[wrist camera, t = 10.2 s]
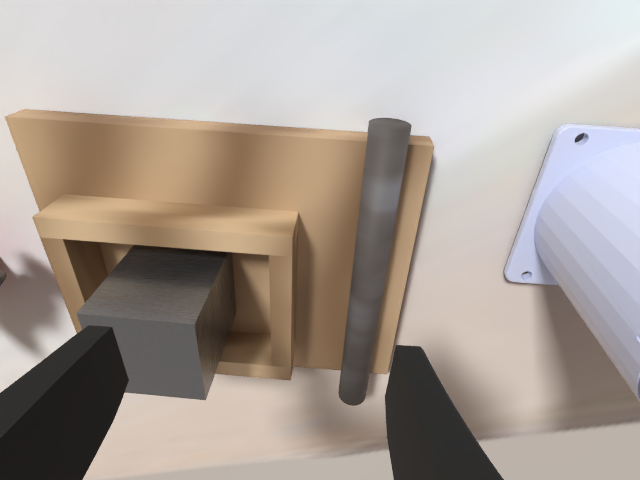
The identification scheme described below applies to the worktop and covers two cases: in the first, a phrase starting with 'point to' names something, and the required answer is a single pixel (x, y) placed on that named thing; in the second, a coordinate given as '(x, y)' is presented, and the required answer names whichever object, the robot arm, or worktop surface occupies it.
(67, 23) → the worktop surface
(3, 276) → the toy boat
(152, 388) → the grey rectangular block
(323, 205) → the plate
